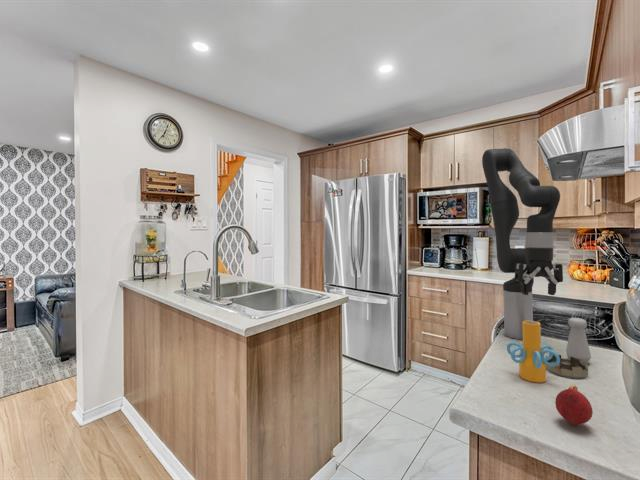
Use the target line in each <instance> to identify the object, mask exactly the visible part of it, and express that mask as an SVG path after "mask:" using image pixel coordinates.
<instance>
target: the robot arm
mask: <svg viewBox="0 0 640 480" xmlns="http://www.w3.org/2000/svg"><path fill="white" fill-rule="evenodd" d="M481 162H482V163H481V164H482V165H481V166H482V169H483V173H484V177H485V181H486V185H487V188H488V195H489V196H488V197H489V202H490V210H491V217H492V221H493V226H494V227H493V228H494V233H495V247H496V261H497V265H498V268H499V270H500V271H501V272H502V273H506V274H509V273H510V274H514V277H512V278H511V279H509V280H507V281H504V282H503V285H502V286H503V289H502V290H503V327H504V328H503V330H504V331H503V332H504V335H505V336H506V337H507V338H511V339H515V340H516V339H517V340H523V326H522V321H526V320H528V321H534V317H533V315H534V311H533V310H534V309H533V308H534V305H533V286H534V280H535V279H534V278H539V277H542V278H545V279H546V281H548V283H547V294H548V295H549V296H550V295H551V296H555V294H556V293H557V284H558V283H563V281H564V274H563V273H564V272H563V271H564V270H563V264H562V263H555V262H554V263H553V260H554V235H553V233H554V232H553V231H554V230H553V228H554V227H553V226H554V218H555V215H556V212H557V209H558V206H559V204H560V201H561V193H560V190H559V188H557V187H556V186H555V185H541V182H540V180H539V179H538V177H536V176H535V175H534V174H533V173H532V172H530V171H529V170H528V169H527V168H526V167H525V166H524V164H523V162H522V161H521V159H520V158H519V157H518V155H517V154H516V153H515V152H514V150H513V149H511V148H505V147H503V148H489V149H486V150H485V151H484V152H483V154H482V157H481ZM499 172H508V173H509V175H508V181H509V184H510V185H511V186H512V187H513V188H514V190H516V191H517V194H518V195H519V196H518V197H519V199H520V202H521V203H522V205H524V206H525V207H526V208H527V207H528V208H540V211H539V212H538V213H536V214H535V213H534V214H530V215H529V216H528V217H527V219H526V237H525V247H516V248H514V247H511V242H510V241H511V240H510V239H511V235H512V234H511V233H512V232H513V229H514V228H515V226H516V224H517V222H518V220H519V217H520V208H519V203H518V199H517V196H516V195H515V194H514V192H513V191H512V190H511V189H510V188H509V187H508V186H507V184H506V183H505V182H504V181H503V180H502V179H501V177H500V175H499ZM552 270H553V273H552Z"/></svg>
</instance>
